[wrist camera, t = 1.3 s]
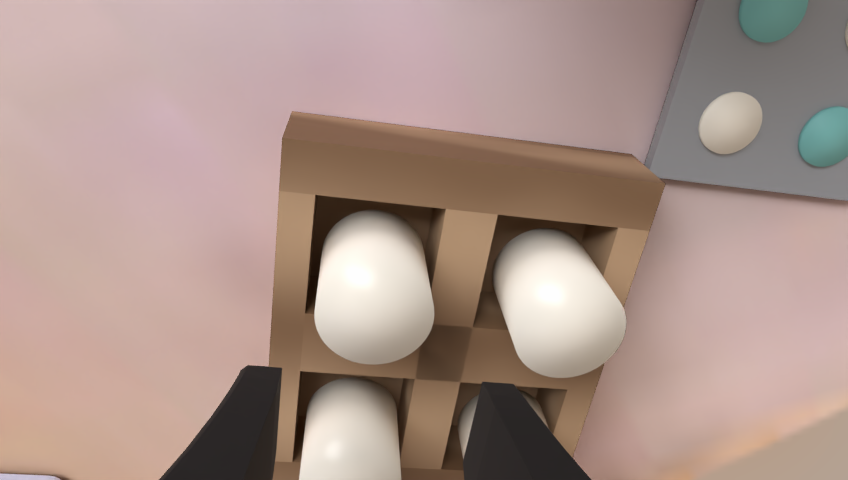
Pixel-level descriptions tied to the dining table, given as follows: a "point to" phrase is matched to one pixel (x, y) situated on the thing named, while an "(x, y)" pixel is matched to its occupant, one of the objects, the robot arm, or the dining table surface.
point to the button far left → (351, 433)
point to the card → (759, 99)
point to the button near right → (556, 304)
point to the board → (443, 266)
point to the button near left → (373, 289)
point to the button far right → (468, 415)
